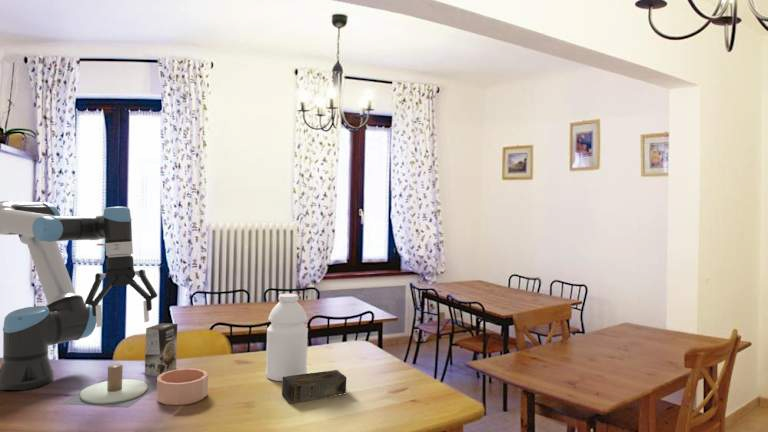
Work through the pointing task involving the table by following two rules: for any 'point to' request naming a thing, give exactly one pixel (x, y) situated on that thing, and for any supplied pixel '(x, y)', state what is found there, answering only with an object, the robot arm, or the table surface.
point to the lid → (113, 388)
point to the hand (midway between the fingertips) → (123, 324)
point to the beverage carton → (313, 386)
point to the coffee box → (160, 349)
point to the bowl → (182, 386)
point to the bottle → (286, 339)
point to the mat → (78, 401)
